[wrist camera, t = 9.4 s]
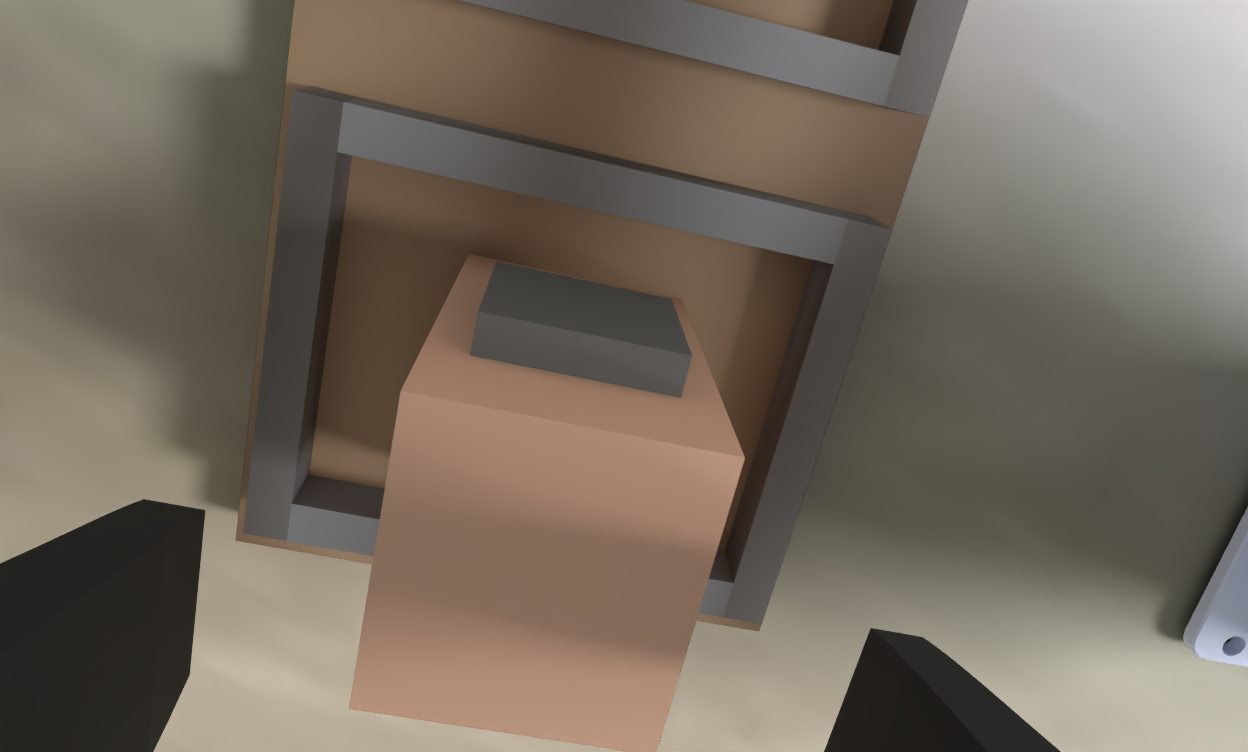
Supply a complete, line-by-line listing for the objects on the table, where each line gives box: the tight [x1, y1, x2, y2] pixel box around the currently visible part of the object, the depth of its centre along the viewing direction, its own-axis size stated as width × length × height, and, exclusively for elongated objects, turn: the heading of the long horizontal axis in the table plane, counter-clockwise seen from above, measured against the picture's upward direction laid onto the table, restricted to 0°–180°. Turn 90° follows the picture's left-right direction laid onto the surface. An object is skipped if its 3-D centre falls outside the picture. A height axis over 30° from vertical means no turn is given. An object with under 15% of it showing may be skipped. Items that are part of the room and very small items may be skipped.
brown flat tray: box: [236, 0, 968, 631], centre depth 15 cm, size 11×20×4 cm, turn 167°
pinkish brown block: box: [349, 254, 745, 752], centre depth 14 cm, size 4×5×7 cm
